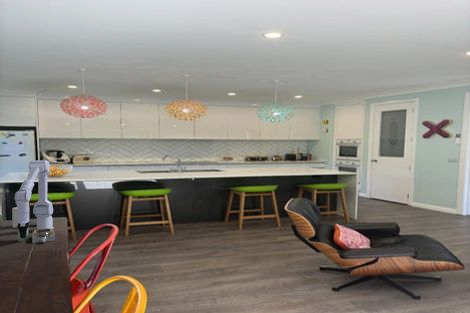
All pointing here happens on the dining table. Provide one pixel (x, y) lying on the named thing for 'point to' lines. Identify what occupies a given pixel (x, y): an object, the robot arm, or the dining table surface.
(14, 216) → the supplement box
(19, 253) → the dining table surface
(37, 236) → the gearbox
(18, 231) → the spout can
